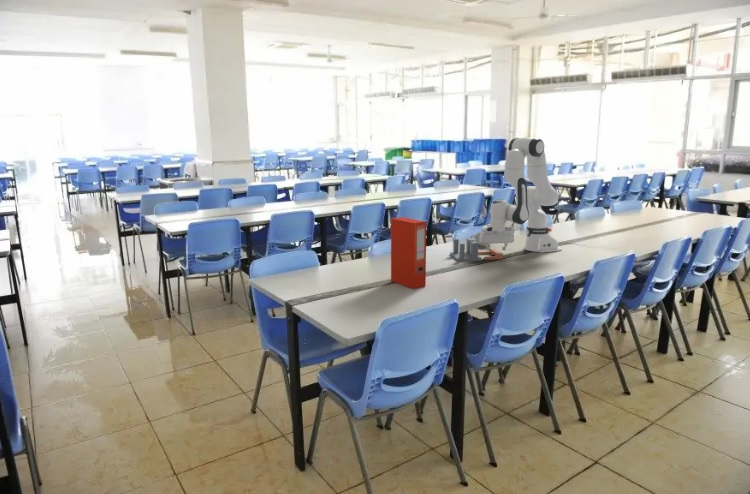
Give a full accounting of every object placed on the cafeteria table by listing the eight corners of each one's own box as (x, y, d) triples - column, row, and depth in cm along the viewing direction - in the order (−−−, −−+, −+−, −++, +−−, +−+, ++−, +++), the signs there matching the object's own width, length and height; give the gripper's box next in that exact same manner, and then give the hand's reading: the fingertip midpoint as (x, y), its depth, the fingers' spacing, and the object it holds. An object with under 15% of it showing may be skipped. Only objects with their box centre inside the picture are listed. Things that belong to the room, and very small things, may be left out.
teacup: (490, 244, 344) (491, 232, 343) (492, 247, 334) (493, 235, 332) (469, 244, 346) (469, 232, 344) (470, 247, 335) (470, 235, 333)
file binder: (403, 278, 268) (403, 216, 261) (425, 286, 254) (426, 221, 247) (391, 281, 263) (390, 218, 256) (413, 289, 250) (413, 223, 243)
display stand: (472, 253, 319) (472, 236, 316) (481, 260, 302) (481, 242, 300) (450, 254, 317) (450, 237, 314) (457, 261, 300) (458, 243, 298)
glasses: (494, 253, 319) (494, 248, 318) (503, 258, 305) (503, 253, 304) (477, 254, 317) (477, 249, 317) (484, 259, 304) (484, 254, 303)
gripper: (512, 226, 312) (510, 248, 315) (479, 226, 309) (478, 249, 312) (516, 228, 306) (515, 251, 309) (482, 228, 303) (481, 252, 306)
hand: (496, 250), depth 310 cm, fingers open, 8 cm apart
